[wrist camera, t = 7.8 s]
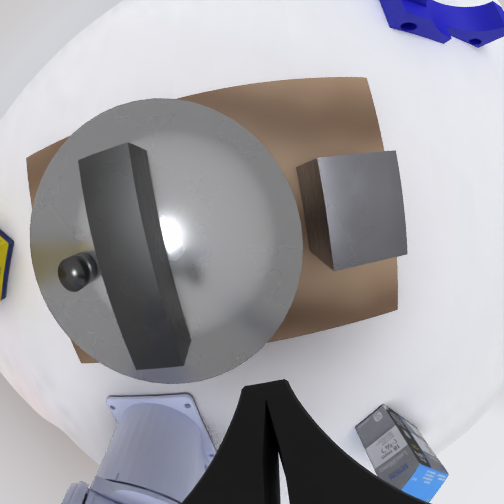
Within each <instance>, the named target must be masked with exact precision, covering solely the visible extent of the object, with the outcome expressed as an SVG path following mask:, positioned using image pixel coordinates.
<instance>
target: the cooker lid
mask: <svg viewBox="0 0 504 504" xmlns="http://www.w3.org/2000/svg"><path fill="white" fill-rule="evenodd" d="M30 249H31V257H32V264H33V268H34V272H35V276H36V280H37V283H38V286H39V288H40V291H41V294H42V296H43V298H44V300H45V302H46V304H47V306H48V308H49V310H50V312H51V313H52V315H53V317H54V318H55V320H56V321H57V323H58V324H59V325H60V327H61V328H62V329H63V330H64V332H65V333H66V334H67V335H68V337H69V338H70V339H71V340H72V341H73V342H74V343H75V344H76V345H77V346H79V347H80V348H81V349H82V350H83V351H84V352H86V353H87V354H88V355H89V356H91V357H92V358H93V359H95V360H97V361H98V362H100V363H101V364H103V365H105V366H106V367H108V368H110V369H112V370H114V371H116V372H119V373H121V374H123V375H126V376H129V377H132V378H135V379H139V380H144V381H148V382H154V383H165V384H180V383H190V382H196V381H202V380H205V379H209V378H212V377H215V376H218V375H220V374H223V373H225V372H227V371H229V370H232V369H234V368H235V367H237V366H238V365H240V364H242V363H243V362H245V361H247V360H248V359H249V358H250V357H252V356H253V355H254V354H255V353H256V352H258V351H259V350H260V349H261V348H262V347H263V346H264V345H265V344H266V343H267V342H268V340H269V339H270V338H271V337H272V336H273V335H274V333H275V332H276V331H277V329H278V328H279V326H280V325H281V323H282V322H283V320H284V318H285V316H286V314H287V312H288V310H289V308H290V306H291V304H292V302H293V299H294V296H295V293H296V290H297V287H298V283H299V278H300V273H301V268H302V254H303V240H302V228H301V221H300V217H299V213H298V208H297V204H296V201H295V198H294V196H293V193H292V191H291V188H290V185H289V183H288V181H287V179H286V177H285V176H284V174H283V172H282V170H281V168H280V167H279V165H278V163H277V162H276V161H275V159H274V158H273V157H272V155H271V154H270V153H269V151H268V150H267V149H266V147H265V146H264V145H263V144H262V143H261V142H260V141H259V140H258V139H257V138H256V137H255V136H254V135H253V134H252V133H250V132H249V131H248V130H247V129H245V128H244V127H243V126H241V125H240V124H239V123H237V122H236V121H234V120H233V119H231V118H230V117H228V116H226V115H224V114H222V113H220V112H218V111H216V110H214V109H212V108H209V107H206V106H203V105H200V104H197V103H194V102H189V101H183V100H177V99H156V98H155V99H146V100H139V101H133V102H130V103H126V104H123V105H119V106H116V107H114V108H112V109H110V110H107V111H105V112H103V113H101V114H99V115H98V116H96V117H94V118H93V119H91V120H90V121H88V122H87V123H85V124H84V125H83V126H81V127H80V128H79V129H78V130H77V131H76V132H74V133H73V134H72V135H71V136H70V137H69V138H68V139H67V140H66V142H65V143H64V144H63V145H62V146H61V147H60V148H59V150H58V151H57V153H56V154H55V156H54V157H53V159H52V160H51V162H50V163H49V165H48V167H47V169H46V171H45V173H44V175H43V177H42V179H41V182H40V184H39V187H38V190H37V193H36V196H35V200H34V204H33V209H32V215H31V224H30Z"/></svg>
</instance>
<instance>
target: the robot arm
mask: <svg viewBox="0 0 504 504" xmlns="http://www.w3.org/2000/svg"><path fill="white" fill-rule="evenodd" d="M105 402H106V404H107V406H108V407H109V409H110V411H111V412H112V414H113V416H114V417H115V419H116V421H117V422H118V426H117V428H116V431H115V433H114V435H113V437H112V440H111V442H110V444H109V447H108V449H107V451H106V454H105V456H104V458H103V461H102V463H101V466H100V468H99V470H98V473H97V475H96V476H95V478H94V480H93V482H92V485H91V487H90V489H88V484H87V483H85V482H83V481H80V482H79V483H72V484H71V485H70V487H69V489H68V491H67V493H66V495H65V497H64V499H63V502H62V504H280V479H279V457H278V452H279V455H280V459H281V462H282V466H283V469H284V473H285V476H286V481H287V488H288V495H289V501H290V504H430V503H428V502H425V501H423V500H421V499H419V498H416V497H414V496H412V495H410V494H407V493H405V492H404V491H402V490H400V489H398V488H396V487H395V486H393V485H391V484H389V483H388V482H386V481H384V480H382V479H381V478H379V477H377V476H376V475H374V474H373V473H371V472H370V471H369V470H367V469H366V468H364V467H363V466H362V465H360V464H359V463H358V462H356V461H355V460H354V459H353V458H351V457H350V456H349V455H348V454H347V453H345V452H344V451H343V450H342V449H341V448H340V447H339V446H338V445H337V444H336V443H335V442H334V441H333V440H332V439H331V438H330V437H329V436H328V435H327V434H326V433H325V432H324V431H323V430H322V429H321V428H320V427H319V426H318V425H317V423H316V422H315V421H314V420H313V419H312V417H311V416H310V415H309V414H308V413H307V411H306V410H305V409H304V407H303V406H302V405H301V403H300V402H299V400H298V399H297V397H296V396H295V394H294V392H293V390H292V389H291V387H290V384H289V382H288V381H287V380H285V379H283V380H278V381H272V382H267V383H261V384H255V385H249V386H244V388H243V389H242V391H241V395H240V399H239V402H238V405H237V408H236V411H235V413H234V416H233V419H232V421H231V423H230V426H229V428H228V430H227V433H226V435H225V437H224V439H223V441H222V443H221V445H220V447H219V449H218V450H217V452H216V449H215V447H214V445H213V443H212V441H211V439H210V437H209V435H208V433H207V430H206V428H205V426H204V424H203V422H202V419H201V417H200V415H199V413H198V410H197V408H196V406H195V403H194V401H193V398H192V397H191V396H190V395H188V394H180V395H165V396H143V397H107V398H106V400H105ZM187 404H190V405H187Z"/></svg>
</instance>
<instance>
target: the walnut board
mask: <svg viewBox="0 0 504 504" xmlns="http://www.w3.org/2000/svg"><path fill="white" fill-rule="evenodd" d="M177 100H183V101H189V102H194V103H197V104H200V105H203V106H206V107H209V108H212V109H214V110H216V111H218V112H220V113H222V114H224V115H226V116H228V117H230V118H231V119H233V120H234V121H236V122H237V123H239V124H240V125H241V126H243V127H244V128H245V129H247V130H248V131H249V132H250V133H252V134H253V135H254V136H255V137H256V138H257V139H258V140H259V141H260V142H261V143H262V144H263V145H264V146H265V147H266V149H267V150H268V151H269V153H270V154H271V155H272V157H273V158H274V159H275V161H276V162H277V163H278V165H279V167H280V168H281V170H282V172H283V174H284V176H285V177H286V179H287V181H288V183H289V185H290V188H291V191H292V193H293V196H294V198H295V201H296V204H297V208H298V213H299V217H300V221H301V228H302V240H303V254H302V268H301V273H300V278H299V283H298V287H297V290H296V293H295V296H294V299H293V302H292V304H291V306H290V308H289V310H288V312H287V314H286V316H285V318H284V320H283V322H282V323H281V325H280V326H279V328H278V329H277V331H276V332H275V333H274V335H273V336H272V337H271V338H270V339H269V340H268V342H273V341H278V340H283V339H288V338H293V337H297V336H302V335H306V334H310V333H315V332H319V331H323V330H327V329H331V328H335V327H339V326H343V325H347V324H350V323H354V322H358V321H361V320H365V319H368V318H372V317H375V316H378V315H382V314H385V313H388V312H392V311H395V310H398V280H397V257H394V258H389V259H385V260H381V261H377V262H373V263H368V264H364V265H360V266H355V267H351V268H347V269H342V270H338V271H333V270H332V269H331V268H329V267H328V266H327V265H326V264H325V263H323V262H322V261H321V260H320V259H319V258H318V257H316V256H315V255H314V254H313V253H312V252H310V250H309V243H308V236H307V229H306V223H305V217H304V210H303V204H302V198H301V193H300V187H299V181H298V176H297V170H296V167H297V166H299V165H302V164H304V163H306V162H309V161H311V160H313V159H316V158H320V157H329V156H337V155H347V154H357V153H369V152H382V151H384V147H383V142H382V138H381V133H380V128H379V124H378V119H377V115H376V111H375V107H374V103H373V99H372V96H371V92H370V89H369V85H368V82H367V78H362V77H328V78H305V79H291V80H280V81H271V82H262V83H255V84H248V85H241V86H235V87H229V88H223V89H218V90H213V91H208V92H203V93H199V94H194V95H190V96H186V97H182V98H178V99H177ZM69 137H70V136H69ZM69 137H67V138H65V139H62V140H60V141H58V142H56V143H54V144H52V145H50V146H48V147H46V148H44V149H42V150H40V151H38V152H36V153H34V154H33V155H31V156H29V157H27V158H26V161H27V172H28V182H29V190H30V197H31V204H32V209H33V204H34V200H35V196H36V193H37V190H38V187H39V184H40V182H41V179H42V177H43V175H44V173H45V171H46V169H47V167H48V165H49V163H50V162H51V160H52V159H53V157H54V156H55V154H56V153H57V151H58V150H59V148H60V147H61V146H62V145H63V144H64V143H65V142H66V140H67V139H68V138H69ZM71 341H72V340H71ZM268 342H267V343H268ZM72 344H73V346H74V348H75V351H76V353H77V355H78V357H79V359H80V361H81V363H100V362H98V361H97V360H95V359H93V358H92V357H91V356H89V355H88V354H87V353H86V352H84V351H83V350H82V349H81V348H80V347H79V346H77V345H76V344H75V343H74V342H73V341H72Z"/></svg>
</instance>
